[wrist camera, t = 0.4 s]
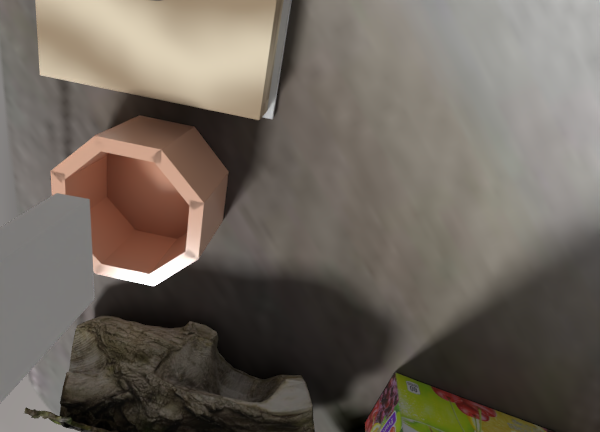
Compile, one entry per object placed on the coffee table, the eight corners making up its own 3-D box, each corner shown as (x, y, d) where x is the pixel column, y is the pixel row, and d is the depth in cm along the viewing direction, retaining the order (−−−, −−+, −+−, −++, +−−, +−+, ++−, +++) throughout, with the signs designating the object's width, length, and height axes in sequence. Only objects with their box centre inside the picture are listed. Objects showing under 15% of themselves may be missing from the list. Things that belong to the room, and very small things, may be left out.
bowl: (101, 107, 36) (48, 125, 30) (233, 134, 36) (208, 159, 30) (101, 226, 41) (55, 265, 34) (219, 251, 41) (194, 295, 34)
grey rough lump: (339, 368, 51) (382, 371, 37) (310, 493, 46) (346, 551, 32) (97, 297, 49) (45, 272, 35) (45, 420, 45) (-39, 448, 31)
